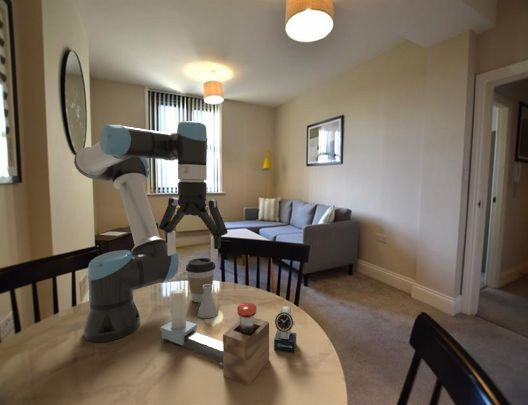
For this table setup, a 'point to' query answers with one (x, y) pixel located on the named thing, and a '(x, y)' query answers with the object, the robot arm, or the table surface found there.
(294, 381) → the table surface
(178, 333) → the carriage
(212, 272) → the coffee cup
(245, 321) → the button plunger
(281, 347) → the watch
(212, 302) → the flask
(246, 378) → the wooden button housing
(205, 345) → the rail
